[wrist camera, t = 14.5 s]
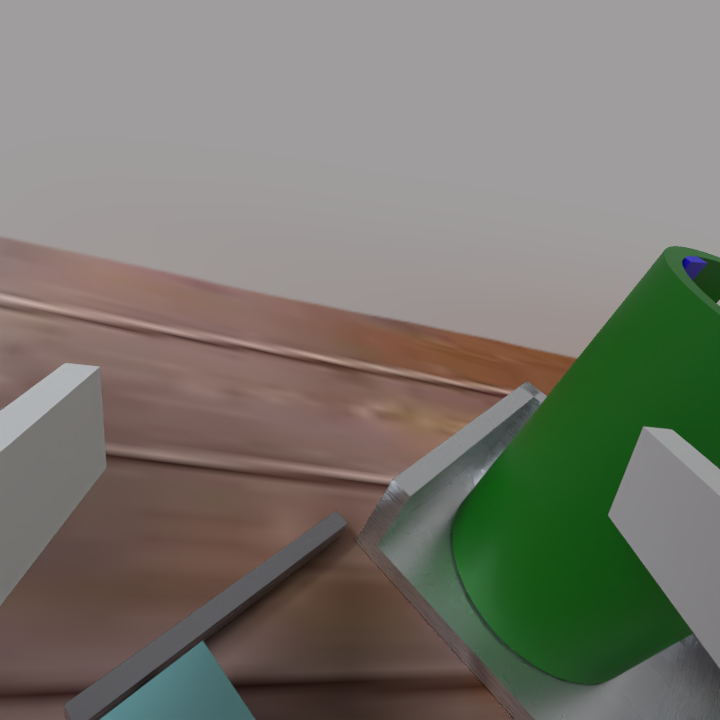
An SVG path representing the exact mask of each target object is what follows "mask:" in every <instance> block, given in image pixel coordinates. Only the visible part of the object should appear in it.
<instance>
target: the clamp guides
mask: <svg viewBox="0 0 720 720" xmlns="http://www.w3.org/2000/svg"><path fill="white" fill-rule="evenodd" d="M347 524H348V523H347V522H346V521H345V520H344V519H343V517H342V516H341V515H340V514H339V513H338V512H337V511H335V512H334V513H332V514H331V515H330V516H328V517H327V518H325V519H324V520H323V521H321V522H320V523H318V524H317V525H315V526H314V527H313V528H311V529H310V530H308V531H307V532H306V533H304V534H303V535H301V536H300V537H299V538H297V539H296V540H294V541H293V542H292V543H290V544H289V545H287V546H286V547H285V548H283V549H282V550H280V551H279V552H278V553H276V554H275V555H273V556H272V557H271V558H269V559H268V560H266V561H265V562H264V563H262V564H261V565H259V566H258V567H257V568H255V569H254V570H252V571H251V572H250V573H248V574H247V575H245V576H244V577H243V578H241V579H240V580H238V581H237V582H235V583H234V584H233V585H231V586H230V587H228V588H227V589H226V590H224V591H223V592H221V593H220V594H219V595H217V596H216V597H214V598H213V599H212V600H210V601H209V602H207V603H206V604H205V605H203V606H202V607H200V608H199V609H198V610H196V611H195V612H193V613H192V614H191V615H189V616H188V617H186V618H185V619H184V620H182V621H181V622H179V623H178V624H177V625H175V626H174V627H172V628H171V629H170V630H168V631H167V632H165V633H164V634H163V635H161V636H160V637H158V638H157V639H156V640H154V641H153V642H151V643H150V644H148V645H147V646H146V647H144V648H143V649H141V650H140V651H139V652H137V653H136V654H134V655H133V656H132V657H130V658H129V659H127V660H126V661H125V662H123V663H122V664H120V665H119V666H118V667H116V668H115V669H113V670H112V671H111V672H109V673H108V674H106V675H105V676H104V677H102V678H101V679H99V680H98V681H97V682H95V683H94V684H92V685H91V686H90V687H88V688H87V689H85V690H84V691H83V692H81V693H80V694H78V695H77V696H76V697H74V698H73V699H71V700H70V701H68V702H67V703H66V704H64V708H65V717H66V719H67V720H100V719H101V718H102V717H104V716H105V715H106V714H108V713H109V712H110V711H112V710H113V709H114V708H115V707H117V706H118V705H119V704H121V703H122V702H123V701H125V700H126V699H127V698H128V697H130V696H131V695H132V694H134V693H135V692H136V691H138V690H139V689H140V688H141V687H143V686H144V685H145V684H147V683H148V682H149V681H151V680H152V679H153V678H154V677H156V676H157V675H158V674H160V673H161V672H162V671H164V670H165V669H166V668H167V667H169V666H170V665H171V664H173V663H174V662H175V661H177V660H178V659H179V658H181V657H182V656H183V655H184V654H186V653H187V652H188V651H190V650H191V649H192V648H194V647H195V646H196V645H197V644H199V643H200V642H201V641H203V642H204V641H206V640H207V639H208V638H209V637H211V636H212V635H213V634H215V633H216V632H217V631H219V630H220V629H221V628H222V627H224V626H225V625H226V624H228V623H229V622H230V621H231V620H233V619H234V618H235V617H237V616H238V615H239V614H241V613H242V612H243V611H244V610H246V609H247V608H248V607H250V606H251V605H252V604H254V603H255V602H256V601H257V600H259V599H260V598H261V597H263V596H264V595H265V594H266V593H268V592H269V591H270V590H272V589H273V588H274V587H276V586H277V585H278V584H279V583H281V582H282V581H283V580H285V579H286V578H287V577H288V576H290V575H291V574H292V573H294V572H295V571H296V570H298V569H299V568H300V567H301V566H303V565H304V564H305V563H307V562H308V561H309V560H311V559H312V558H313V557H314V556H316V555H317V554H318V553H320V552H321V551H322V550H323V549H325V548H326V547H327V546H329V545H330V544H331V543H333V542H334V541H335V540H336V539H338V538H339V537H340V536H341V534H342V532H343V531H344V529H345V527H346V525H347Z"/></svg>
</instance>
